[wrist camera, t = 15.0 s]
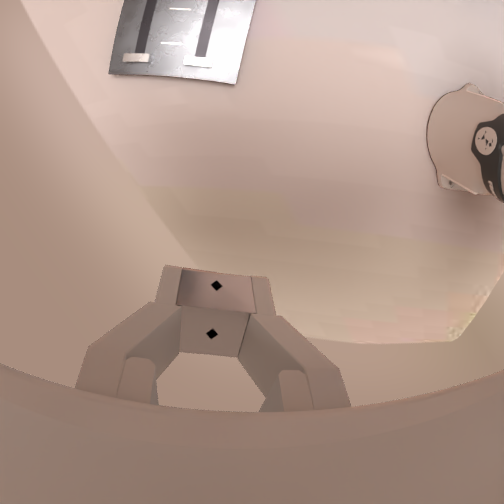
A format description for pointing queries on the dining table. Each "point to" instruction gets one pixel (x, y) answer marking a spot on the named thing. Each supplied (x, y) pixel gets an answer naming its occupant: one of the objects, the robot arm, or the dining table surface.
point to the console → (182, 38)
